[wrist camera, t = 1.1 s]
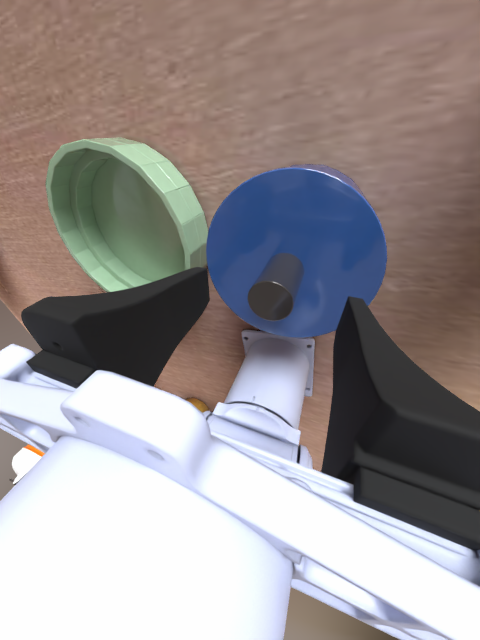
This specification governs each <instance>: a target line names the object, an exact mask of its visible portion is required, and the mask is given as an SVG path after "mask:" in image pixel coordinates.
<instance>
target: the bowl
mask: <svg viewBox="0 0 480 640" xmlns="http://www.w3.org/2000/svg"><path fill="white" fill-rule="evenodd" d="M46 191H47V198H48V205H49V210H50V212H51V215H52V218H53V220H54V223H55V226H56V228H57V231H58V233H59V235H60V237H61V238H62V240H63V242H64V244H65V245H66V247H67V249H68V250H69V252H70V254H71V255H72V257H73V258H74V259H75V260H76V262H77V263H78V264H79V265H80V267H81V268H82V269H83V270H84V271H85V273H86V274H87V275H88V276H89V277H90V278H91V279H92V280H93V281H95V282H96V283H97V284H98V285H99V286H100V287H101V288H102V289H103V290H105V291H106V292H113V291H119V290H124V289H129V288H133V287H137V286H141V285H144V284H148V283H151V282H154V281H157V280H160V279H163V278H165V277H168V276H171V275H174V274H176V273H179V272H182V271H184V270H187V269H190V268H194V267H201V268H206V266H207V256H206V245H207V237H208V228H207V223H206V219H205V214H204V213H203V210H202V208H201V206H200V204H199V202H198V200H197V198H196V196H195V194H194V192H193V190H192V188H191V186H190V184H189V183H188V182H187V181H186V179H185V178H184V177H183V176H182V175H181V174H180V172H179V171H178V170H177V169H176V168H175V166H174V165H173V164H172V163H171V162H170V161H169V160H168V159H167V158H165V157H164V156H162V155H161V154H159V153H158V152H156V151H155V150H153V149H152V148H150V147H149V146H147V145H146V144H144V143H141V142H136V141H132V140H128V139H124V138H103V139H102V138H101V139H82V140H79V141H75V142H71V143H68V144H64V145H62V146H61V147H60V149H59V150H58V151H57V152H56V154H55V155H54V156H53V157H52V159H51V160H50V162H49V166H48V172H47V178H46Z"/></svg>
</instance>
